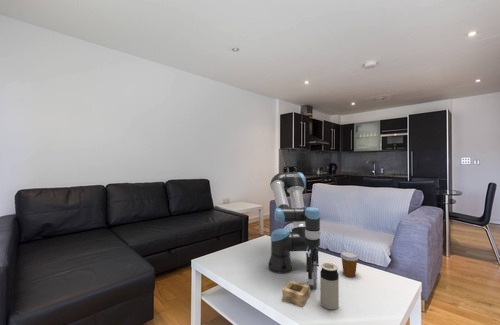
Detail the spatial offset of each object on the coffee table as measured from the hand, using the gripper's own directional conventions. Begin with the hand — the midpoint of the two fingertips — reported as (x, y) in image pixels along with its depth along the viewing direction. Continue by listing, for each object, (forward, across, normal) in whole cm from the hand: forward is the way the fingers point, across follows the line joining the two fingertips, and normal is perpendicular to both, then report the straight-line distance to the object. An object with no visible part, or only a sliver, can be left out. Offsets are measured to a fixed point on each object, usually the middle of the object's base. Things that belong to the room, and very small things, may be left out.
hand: (312, 281), depth 121 cm
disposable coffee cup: (+4, +25, -14) cm, 29 cm away
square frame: (+3, -13, +4) cm, 14 cm away
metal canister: (+3, 0, 0) cm, 3 cm away
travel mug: (+4, -10, -11) cm, 15 cm away
